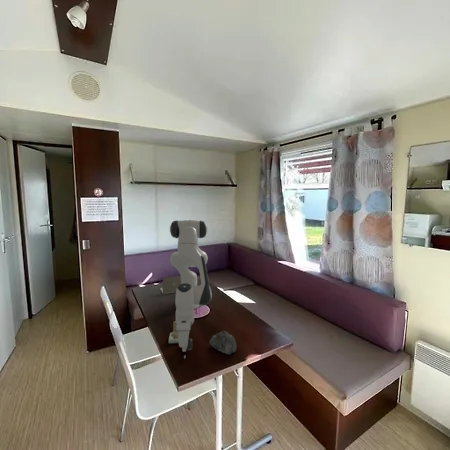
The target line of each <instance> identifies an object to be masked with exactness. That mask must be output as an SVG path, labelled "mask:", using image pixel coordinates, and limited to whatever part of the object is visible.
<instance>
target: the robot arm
mask: <svg viewBox="0 0 450 450" xmlns="http://www.w3.org/2000/svg"><path fill="white" fill-rule="evenodd" d="M169 233H170V236H171V237H172V238H174V239H177V251H175V252H173V253H171V254H170V258H169V263H170V265H171V266H172V267H173V268H175V269H176V270H177V271H178V273H179V274H180V275H179V276H181V284H180V285H178V286H177V289H176V290H175V292H173V296H174V297H173V301H174V303H175V309H176V310H175V321H176V330H178V342H179V343H178V346H179V348H181V347H182V349H181V350H182V352H187V349H186V347H187V345H188V338H190V337H189V336H190V331H191V328H192V325H193V324H194V322H195V309H197V308H199V307H202V306H206V305H208V304H209V303H211V301H212V297H213V294H212V289H211V286H210V281H209V276H208V269H207V264H208V260H209V259H208V258H209V257H208V254H207V252H205V251H203V250H202V249H201V248H200V247H199V240H198V239H203V238H205V237H206V236H207V234H208V225H207V223H206V222H205V221H204V220H191V219H189V220H187V219H185V220H173V221H172V222H171V223H170V226H169ZM189 268H197V269H198V271H199V277H200V283H201V284H199V285H198V275H197V273H196V272H194V271H192V270H191V269H189Z"/></svg>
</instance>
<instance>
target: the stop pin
mask: <svg viewBox="0 0 450 450" xmlns="http://www.w3.org/2000/svg"><path fill="white" fill-rule="evenodd" d="M172 323H173V324H172V327H173V329H172V330H173V331H172V333H173V339H178V330H176V320H175V321H173V322H172Z"/></svg>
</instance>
